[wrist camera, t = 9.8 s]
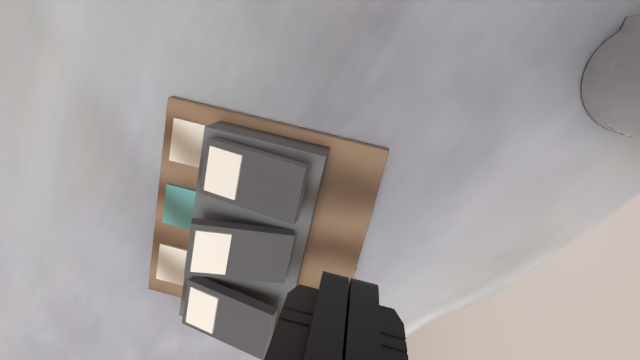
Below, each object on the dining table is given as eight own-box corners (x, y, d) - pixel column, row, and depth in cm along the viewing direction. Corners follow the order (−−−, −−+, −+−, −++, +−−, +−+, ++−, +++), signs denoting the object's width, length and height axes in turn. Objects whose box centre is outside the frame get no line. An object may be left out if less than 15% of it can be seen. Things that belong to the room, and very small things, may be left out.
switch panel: (173, 96, 39) (146, 100, 35) (388, 149, 38) (391, 161, 34) (152, 284, 46) (128, 309, 41) (336, 333, 45) (332, 365, 40)
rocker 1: (219, 135, 35) (205, 138, 33) (313, 163, 33) (305, 168, 31) (211, 187, 37) (197, 193, 35) (301, 217, 35) (292, 225, 33)
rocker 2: (193, 213, 35) (190, 224, 33) (292, 226, 37) (295, 237, 35) (186, 262, 37) (183, 275, 35) (282, 271, 39) (284, 284, 37)
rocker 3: (200, 270, 39) (186, 280, 37) (281, 304, 37) (271, 316, 35) (194, 312, 41) (180, 324, 39) (272, 347, 39) (261, 361, 37)
